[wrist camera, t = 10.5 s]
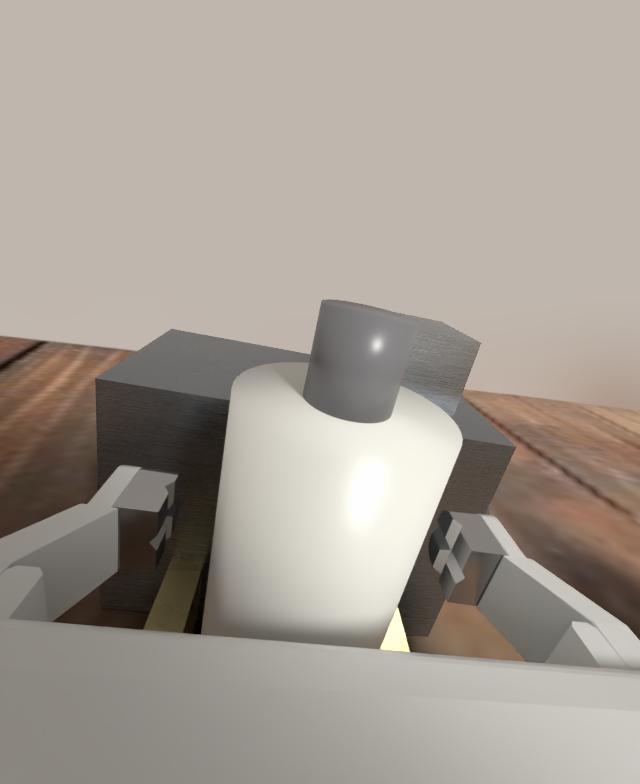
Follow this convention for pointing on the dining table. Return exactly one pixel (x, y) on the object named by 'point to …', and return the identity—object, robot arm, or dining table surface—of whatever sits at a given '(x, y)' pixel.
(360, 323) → the white bottle
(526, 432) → the dining table surface
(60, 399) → the dining table surface
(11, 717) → the robot arm
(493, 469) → the motor
